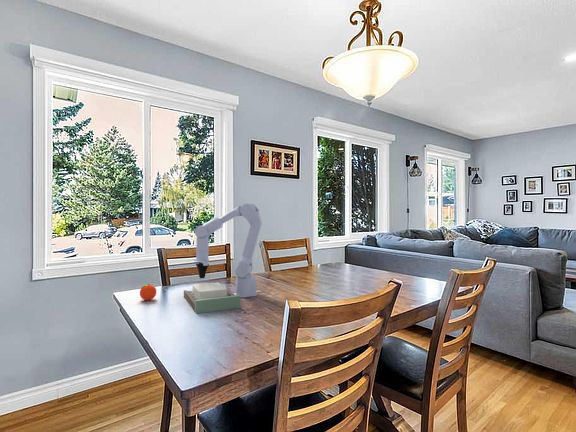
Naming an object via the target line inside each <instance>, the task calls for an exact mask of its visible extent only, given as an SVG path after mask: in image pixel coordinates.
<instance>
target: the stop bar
mask: <svg viewBox="0 0 576 432" xmlns="http://www.w3.org/2000/svg"><path fill="white" fill-rule="evenodd" d="M240 297H241V296H240V295H234V294H233V295H232V296H224V297H215V298H206V299H197V300H195V312H194V313H195V314H203V313H210V312H218V311H224V310H233V309H240V308H241V298H240Z"/></svg>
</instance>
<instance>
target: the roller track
mask: <svg viewBox="0 0 576 432" xmlns="http://www.w3.org/2000/svg"><path fill="white" fill-rule="evenodd" d="M232 295H234V294H232V293H231V292H230V291H229V290H227V296H232ZM222 297H224V296H222ZM183 298H184V299H185V301H186V302H187V303H188V305H189V307H191V309H192V310H193V311H194V313H195V300H197V299H199V298H198V297H197V296H196V295H195V293H194V292H193V289H192V290H186V289H184V290H183ZM213 298H215V297H213ZM204 299H206V298H204Z"/></svg>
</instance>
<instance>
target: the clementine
mask: <svg viewBox="0 0 576 432" xmlns="http://www.w3.org/2000/svg"><path fill="white" fill-rule="evenodd" d="M138 289H139V296H140V298H141V299H142V300H144V301H152V300H153V299H154V298H155V297H156V295H157V288H156V287H155V286H154V285H153V284H143V285H141V286H139V287H138Z"/></svg>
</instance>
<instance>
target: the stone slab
mask: <svg viewBox="0 0 576 432" xmlns="http://www.w3.org/2000/svg"><path fill="white" fill-rule="evenodd" d="M192 290H193V292H194V293H195V295H196V296H197V297H198V298H199V299H204V298H213V297H222V296H227V291H228V289H227V287H225V286H224V285H223V284H221V283H219V282H209V283H197V284H196V283H195V284H192Z"/></svg>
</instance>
